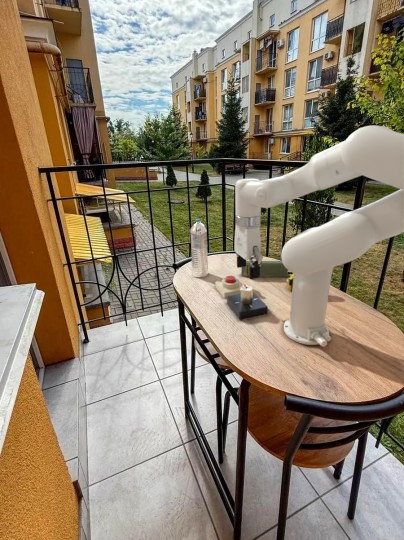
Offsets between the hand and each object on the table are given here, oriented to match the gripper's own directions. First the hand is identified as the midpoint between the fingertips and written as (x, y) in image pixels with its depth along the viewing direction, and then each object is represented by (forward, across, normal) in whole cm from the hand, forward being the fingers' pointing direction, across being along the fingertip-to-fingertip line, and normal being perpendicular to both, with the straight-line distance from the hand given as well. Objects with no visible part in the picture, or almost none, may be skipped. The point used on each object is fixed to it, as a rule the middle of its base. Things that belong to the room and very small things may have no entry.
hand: (247, 272), depth 91 cm
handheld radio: (+14, -21, +21) cm, 32 cm away
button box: (+14, -15, 0) cm, 20 cm away
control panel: (+14, 0, 0) cm, 14 cm away
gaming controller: (+14, -5, +26) cm, 30 cm away
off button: (+10, -15, 0) cm, 18 cm away
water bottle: (+13, -33, -7) cm, 36 cm away
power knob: (+11, 0, 0) cm, 11 cm away
